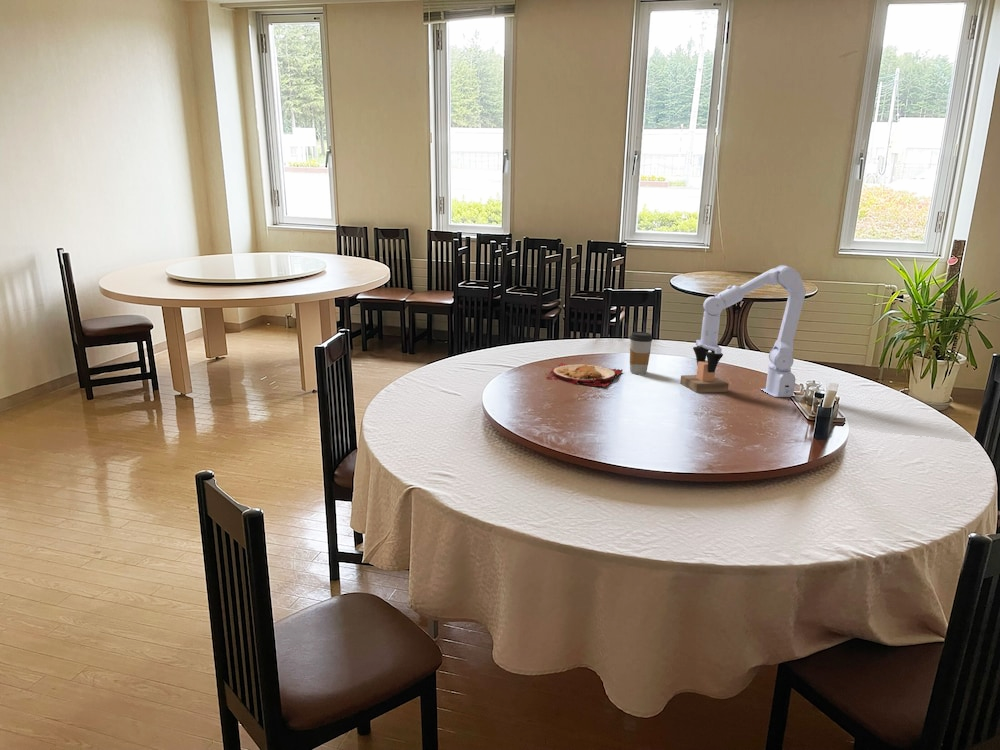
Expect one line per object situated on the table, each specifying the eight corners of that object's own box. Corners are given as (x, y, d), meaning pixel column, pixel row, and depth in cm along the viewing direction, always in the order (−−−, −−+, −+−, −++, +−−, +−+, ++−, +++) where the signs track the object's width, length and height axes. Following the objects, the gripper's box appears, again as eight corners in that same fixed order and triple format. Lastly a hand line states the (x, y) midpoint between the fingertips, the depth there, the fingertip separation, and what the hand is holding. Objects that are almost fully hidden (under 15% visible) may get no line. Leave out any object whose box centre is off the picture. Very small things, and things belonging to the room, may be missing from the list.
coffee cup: (651, 375, 265) (654, 336, 262) (628, 374, 265) (632, 335, 262) (647, 370, 273) (650, 332, 270) (625, 369, 273) (628, 331, 270)
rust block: (714, 380, 249) (716, 364, 247) (702, 381, 248) (704, 364, 246) (707, 377, 253) (709, 361, 251) (696, 377, 252) (698, 361, 250)
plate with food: (622, 374, 268) (623, 365, 267) (605, 389, 244) (606, 379, 243) (560, 367, 277) (561, 358, 276) (538, 380, 253) (539, 371, 252)
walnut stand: (727, 391, 247) (728, 383, 246) (696, 392, 244) (697, 384, 243) (710, 382, 258) (711, 374, 257) (680, 383, 255) (681, 375, 254)
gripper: (689, 327, 252) (685, 364, 255) (709, 335, 238) (705, 374, 242) (707, 327, 253) (703, 364, 257) (728, 335, 240) (724, 374, 243)
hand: (705, 369), depth 249 cm, fingers open, 7 cm apart
